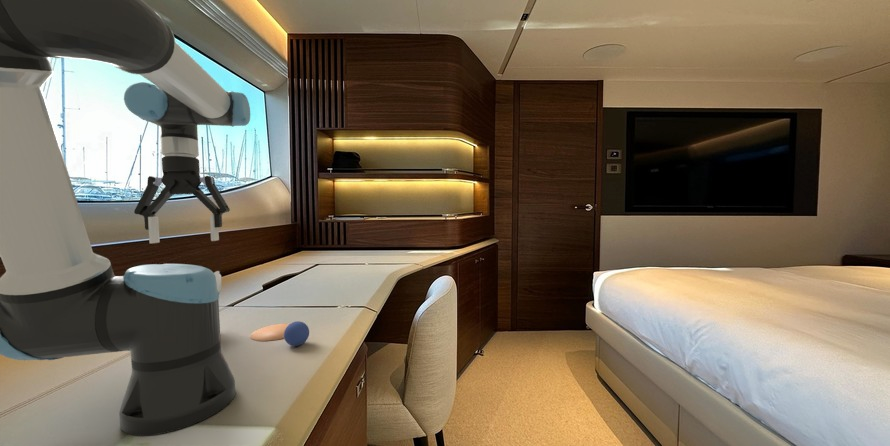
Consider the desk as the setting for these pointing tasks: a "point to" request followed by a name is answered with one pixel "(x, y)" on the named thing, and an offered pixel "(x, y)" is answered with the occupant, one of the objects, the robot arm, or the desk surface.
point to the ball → (296, 333)
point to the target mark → (270, 332)
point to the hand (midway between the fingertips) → (185, 241)
